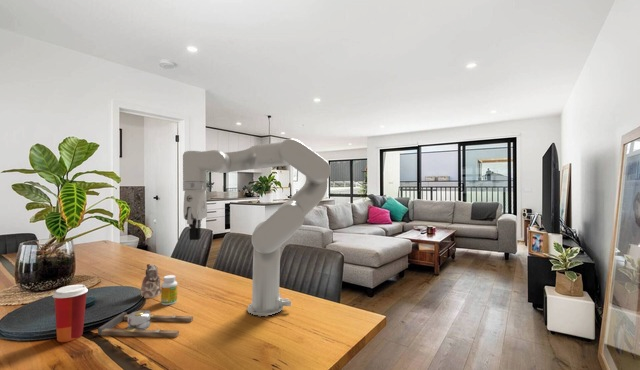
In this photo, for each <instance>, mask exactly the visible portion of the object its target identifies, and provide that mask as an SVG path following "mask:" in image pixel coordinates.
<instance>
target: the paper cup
mask: <svg viewBox="0 0 640 370" xmlns="http://www.w3.org/2000/svg"><path fill="white" fill-rule="evenodd" d="M88 291H89V289H88V288H87V287H86V285H85V284H72V285H71V284H70V285H66V286H62V287H59V288H57V289H55V291H54V292H53V295H51V296H52V298H53V299H54V312H55V326H56V327H55V328H56V329H55V330H56V341H57V342H59V343H68V342H72V341H75V340H78V339H79V338H81V337H82V336H83V332H84V326H85V325H84V324H85V323H84V322H85V316H86V315H85V313H86V303H87V293H88Z"/></svg>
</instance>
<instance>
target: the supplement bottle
mask: <svg viewBox="0 0 640 370" xmlns="http://www.w3.org/2000/svg"><path fill="white" fill-rule="evenodd" d="M160 285H161V294H160V304H161V305H163V306H168V305H169V306H170V305H174V304H175V303H177V302H178V281H177V280H176V275H174V274H169V275H165V276H163V282H162V283H161V284H160Z"/></svg>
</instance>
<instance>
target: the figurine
mask: <svg viewBox="0 0 640 370" xmlns="http://www.w3.org/2000/svg"><path fill="white" fill-rule="evenodd" d="M161 285H162V284H161V276H159V271H158V267H157V266H156V265H155V264H150V263H147V264H146V270H145V276H144V277H143V279H142V283H141V288H140V294H141V295H143V296H144V298H143V299H152V298H156V297H159V296H161ZM141 295H140V296H141Z"/></svg>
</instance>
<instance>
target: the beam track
mask: <svg viewBox="0 0 640 370" xmlns="http://www.w3.org/2000/svg"><path fill="white" fill-rule="evenodd" d="M128 315H129V314H127V311H124V312H122V313H120V314H118V315H117V316H115V317H113V318H112V319H110V320H109V321H108V322H105V323H104V324H103V325H101V326H100V327H98V328H97V336H111V337H112V336H114V337H115V336H116V337H119V336H121V337H150V338H151V337H152V338H153V337H159V338H160V337H161V338H178V336H179V335H180V330H175V329H174V330H171V329H169V330H168V329H167V330H166V329H165V330H164V329H160V328H157V329H145V330H139V329H135V328H128V329H127V328H114V327H116V326H117V325H119V324H121V323H122V322H123V321H128ZM193 321H194V316H193V315H177V314H173V315H162V314H161V315H156V314H153V313H152V314H151V313H150V322H172V323H175V322H177V323H178V322H180V323H192V322H193Z"/></svg>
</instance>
